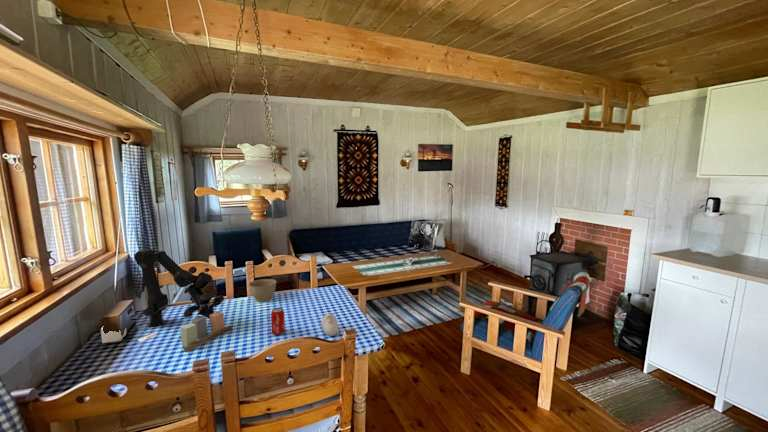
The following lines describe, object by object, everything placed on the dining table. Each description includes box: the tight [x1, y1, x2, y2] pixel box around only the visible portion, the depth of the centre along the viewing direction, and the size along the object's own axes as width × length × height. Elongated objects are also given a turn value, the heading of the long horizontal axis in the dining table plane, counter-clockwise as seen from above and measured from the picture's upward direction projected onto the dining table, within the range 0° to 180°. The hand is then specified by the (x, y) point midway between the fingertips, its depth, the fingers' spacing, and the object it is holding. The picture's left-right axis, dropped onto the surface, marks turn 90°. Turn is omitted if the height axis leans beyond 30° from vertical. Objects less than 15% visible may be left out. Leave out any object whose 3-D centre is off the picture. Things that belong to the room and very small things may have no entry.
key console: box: [183, 324, 233, 353], centre depth 150 cm, size 12×23×3 cm, turn 155°
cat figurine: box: [320, 312, 340, 337], centre depth 158 cm, size 10×8×15 cm
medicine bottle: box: [100, 327, 127, 344], centre depth 149 cm, size 7×7×12 cm
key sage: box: [180, 322, 198, 348], centre depth 143 cm, size 4×4×9 cm
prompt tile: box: [137, 332, 158, 343], centre depth 149 cm, size 12×7×1 cm, turn 65°
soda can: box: [270, 307, 286, 336], centre depth 156 cm, size 6×6×12 cm
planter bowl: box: [248, 278, 277, 303], centre depth 199 cm, size 16×16×11 cm
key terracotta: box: [209, 311, 225, 334], centre depth 155 cm, size 4×4×9 cm
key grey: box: [191, 315, 208, 341], centre depth 150 cm, size 4×4×9 cm
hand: (213, 319), depth 156 cm, fingers closed, pressing on key terracotta
